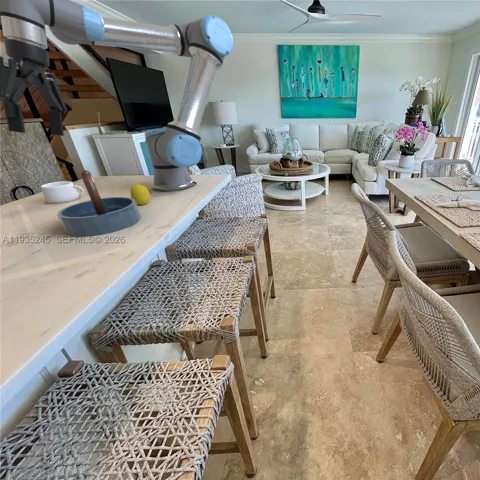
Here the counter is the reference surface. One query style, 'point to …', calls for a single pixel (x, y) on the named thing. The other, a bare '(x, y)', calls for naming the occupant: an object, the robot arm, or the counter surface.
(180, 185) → the robot arm
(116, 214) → the bowl
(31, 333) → the counter surface
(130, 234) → the counter surface
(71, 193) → the mug
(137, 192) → the lemon
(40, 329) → the counter surface
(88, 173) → the brown wooden pestle
